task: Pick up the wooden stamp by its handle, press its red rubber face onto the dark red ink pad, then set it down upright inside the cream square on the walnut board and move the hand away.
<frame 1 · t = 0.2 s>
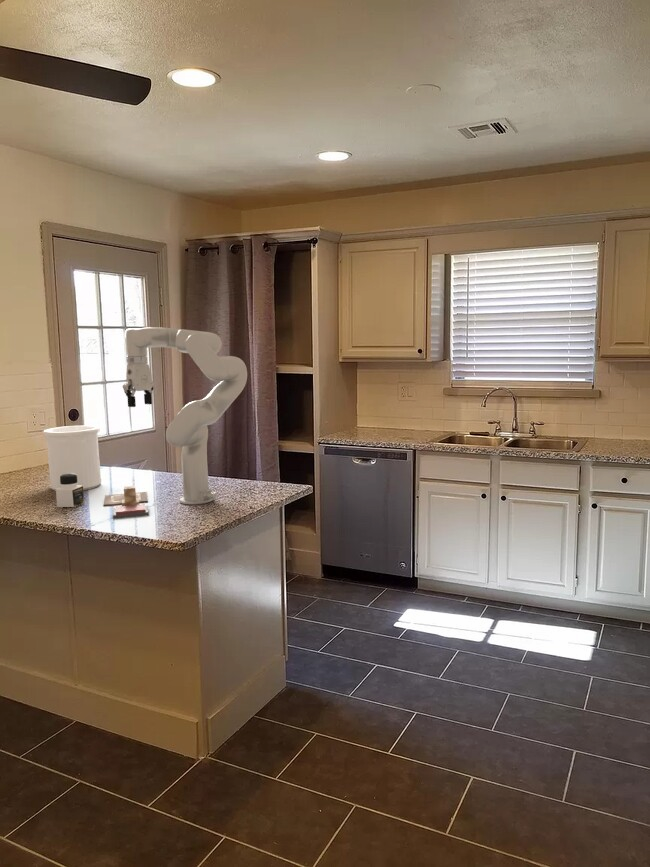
hand: (140, 405, 263), 36 cm above the countertop, tool pointing down, fingers open, 9 cm apart
bucket: (76, 487, 289), on the countertop
medicine bottle: (70, 505, 257), on the countertop
stamp: (130, 507, 252), on the countertop
marked board: (125, 499, 264), on the countertop
ink pad: (131, 513, 242), on the countertop
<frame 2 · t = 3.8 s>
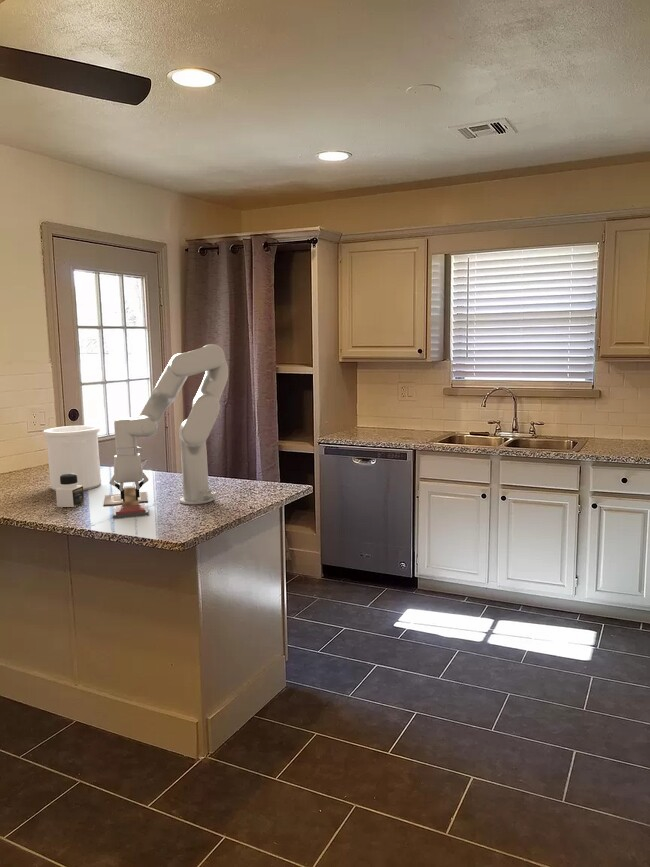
hand: (130, 499, 251), 3 cm above the countertop, tool pointing down, fingers closed on stamp, 4 cm apart
stamp: (131, 506, 252), on the countertop, touching gripper
everything else where it was.
when the fingers open (5 cm above the countertop, at t = 15.4 s): stamp drops 1 cm, resting on marked board.
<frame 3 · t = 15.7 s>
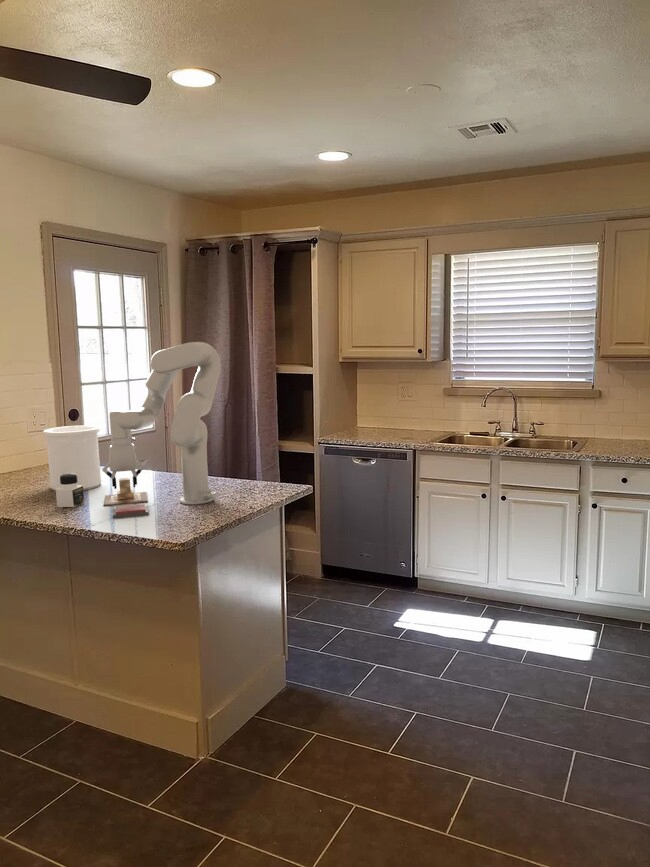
hand: (125, 487, 263), 5 cm above the countertop, tool pointing down, fingers open, 6 cm apart
stamp: (125, 498, 263), point 1 cm above the countertop, touching marked board
everything else where it was.
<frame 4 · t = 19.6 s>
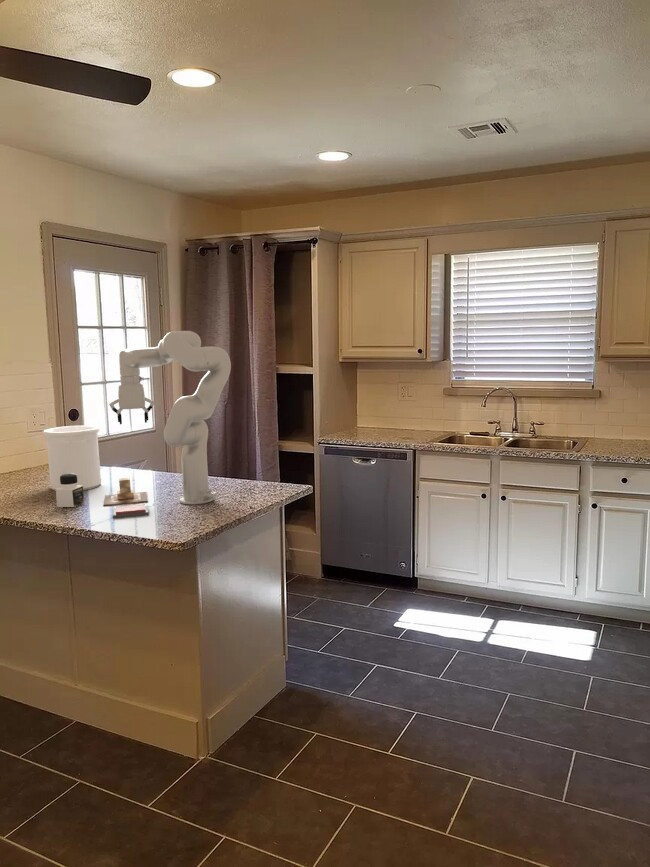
hand: (133, 423, 271), 28 cm above the countertop, tool pointing down, fingers open, 9 cm apart
nothing on the countertop moved.
at the end: stamp 0.0 cm from the marked board (horizontally); stamp tilted 0°; stamp touching marked board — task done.
